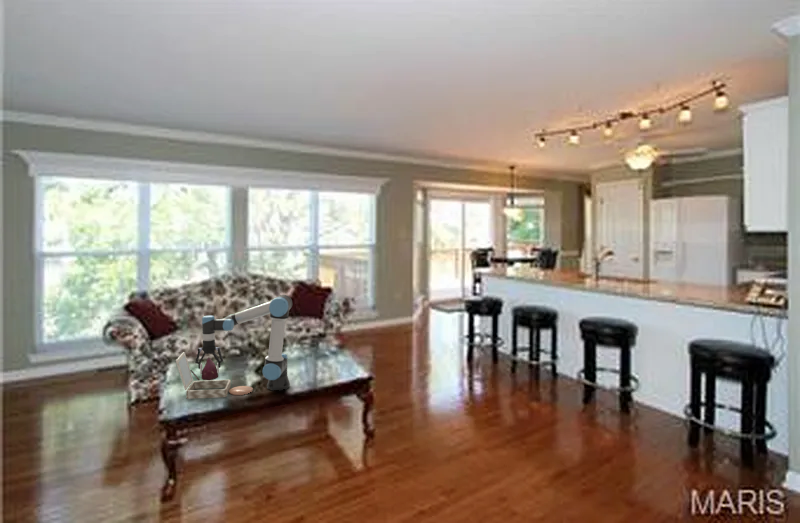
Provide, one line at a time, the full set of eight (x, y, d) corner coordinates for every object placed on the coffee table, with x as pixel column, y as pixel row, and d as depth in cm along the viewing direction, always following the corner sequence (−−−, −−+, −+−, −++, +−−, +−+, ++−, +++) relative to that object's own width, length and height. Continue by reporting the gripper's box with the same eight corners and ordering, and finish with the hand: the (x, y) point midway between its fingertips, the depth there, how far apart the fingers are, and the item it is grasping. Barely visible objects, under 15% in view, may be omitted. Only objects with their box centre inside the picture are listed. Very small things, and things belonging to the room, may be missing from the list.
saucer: (253, 387, 339) (253, 385, 339) (251, 394, 325) (251, 393, 325) (230, 387, 337) (230, 386, 336) (227, 395, 322) (227, 394, 322)
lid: (184, 351, 331) (183, 352, 331) (177, 360, 312) (175, 360, 312) (193, 379, 334) (191, 380, 334) (186, 389, 314) (185, 390, 314)
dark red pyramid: (202, 381, 329) (198, 358, 331) (219, 377, 332) (215, 355, 334) (201, 382, 319) (197, 359, 321) (218, 378, 323) (214, 355, 324)
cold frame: (230, 386, 339) (230, 368, 338) (226, 397, 319) (226, 377, 318) (190, 388, 334) (190, 369, 333) (183, 398, 314) (183, 379, 313)
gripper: (227, 337, 330) (228, 370, 332) (191, 338, 326) (192, 372, 327) (225, 340, 322) (226, 373, 324) (189, 341, 318) (190, 375, 320)
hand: (209, 373), depth 326 cm, fingers closed on dark red pyramid, 10 cm apart
